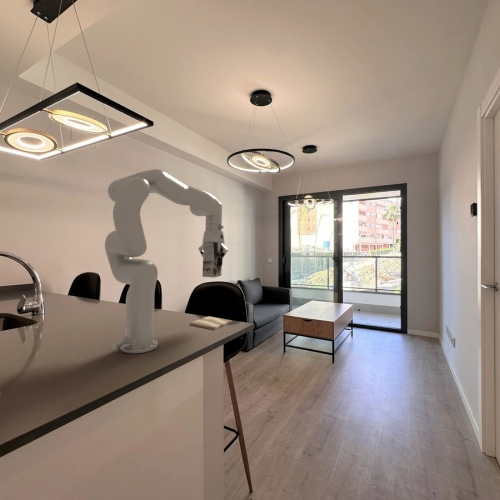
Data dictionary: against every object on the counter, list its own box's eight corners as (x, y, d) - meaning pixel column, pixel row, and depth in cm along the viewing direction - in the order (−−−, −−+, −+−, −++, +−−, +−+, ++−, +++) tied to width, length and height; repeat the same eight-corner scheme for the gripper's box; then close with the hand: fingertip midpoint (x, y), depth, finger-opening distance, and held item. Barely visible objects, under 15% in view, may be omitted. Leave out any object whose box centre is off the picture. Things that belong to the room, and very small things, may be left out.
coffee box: (215, 277, 131) (216, 242, 130) (201, 277, 132) (202, 241, 132) (221, 275, 139) (222, 242, 139) (209, 275, 141) (210, 242, 141)
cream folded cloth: (214, 329, 127) (214, 327, 127) (189, 324, 134) (189, 322, 134) (231, 322, 139) (231, 320, 139) (208, 318, 146) (208, 316, 146)
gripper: (233, 228, 134) (232, 266, 135) (203, 228, 143) (202, 264, 143) (224, 227, 128) (223, 267, 128) (193, 227, 136) (192, 265, 137)
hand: (212, 265), depth 136 cm, fingers closed on coffee box, 7 cm apart
